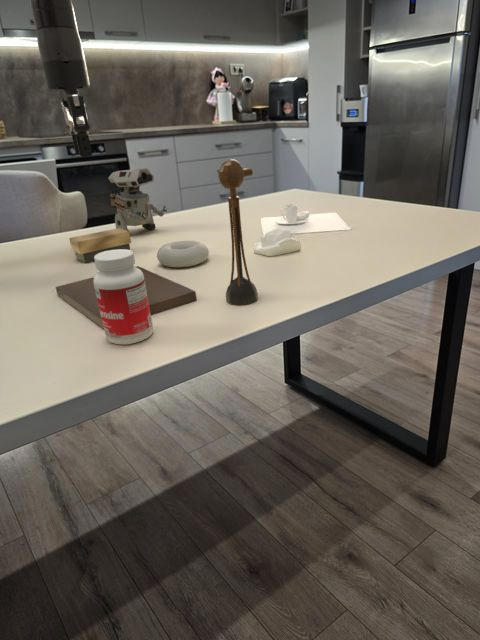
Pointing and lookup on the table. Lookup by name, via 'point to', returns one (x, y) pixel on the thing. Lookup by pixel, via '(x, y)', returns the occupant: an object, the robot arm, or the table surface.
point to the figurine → (133, 199)
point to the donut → (182, 254)
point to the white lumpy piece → (276, 243)
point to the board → (157, 287)
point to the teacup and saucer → (303, 221)
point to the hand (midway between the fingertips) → (83, 155)
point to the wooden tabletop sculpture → (237, 235)
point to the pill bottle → (122, 297)
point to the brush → (99, 243)
